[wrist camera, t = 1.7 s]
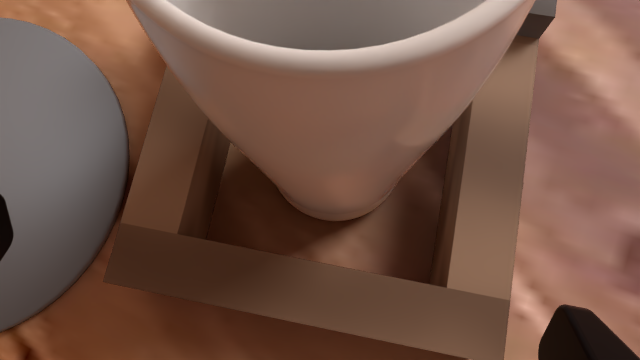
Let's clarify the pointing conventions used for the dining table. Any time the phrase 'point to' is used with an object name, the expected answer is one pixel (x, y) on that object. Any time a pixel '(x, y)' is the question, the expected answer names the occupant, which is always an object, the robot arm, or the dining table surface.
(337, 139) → the drinking glass
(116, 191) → the slate mat
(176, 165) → the wooden holder tray
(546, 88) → the dining table surface
